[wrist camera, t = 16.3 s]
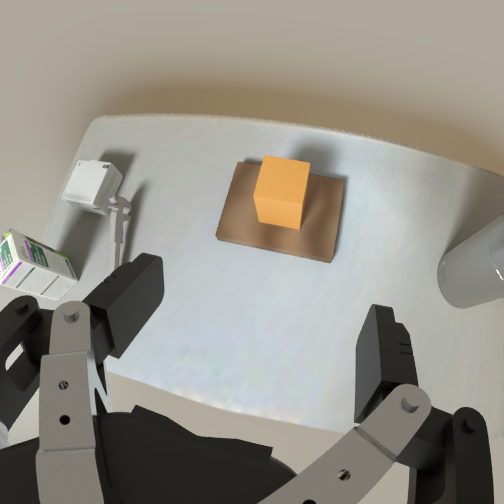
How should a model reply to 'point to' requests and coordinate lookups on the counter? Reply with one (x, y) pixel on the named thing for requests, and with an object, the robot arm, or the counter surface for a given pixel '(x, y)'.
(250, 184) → the board
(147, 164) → the counter surface
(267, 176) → the orange rectangular block
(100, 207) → the small box
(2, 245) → the syrup box
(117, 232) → the caliper
